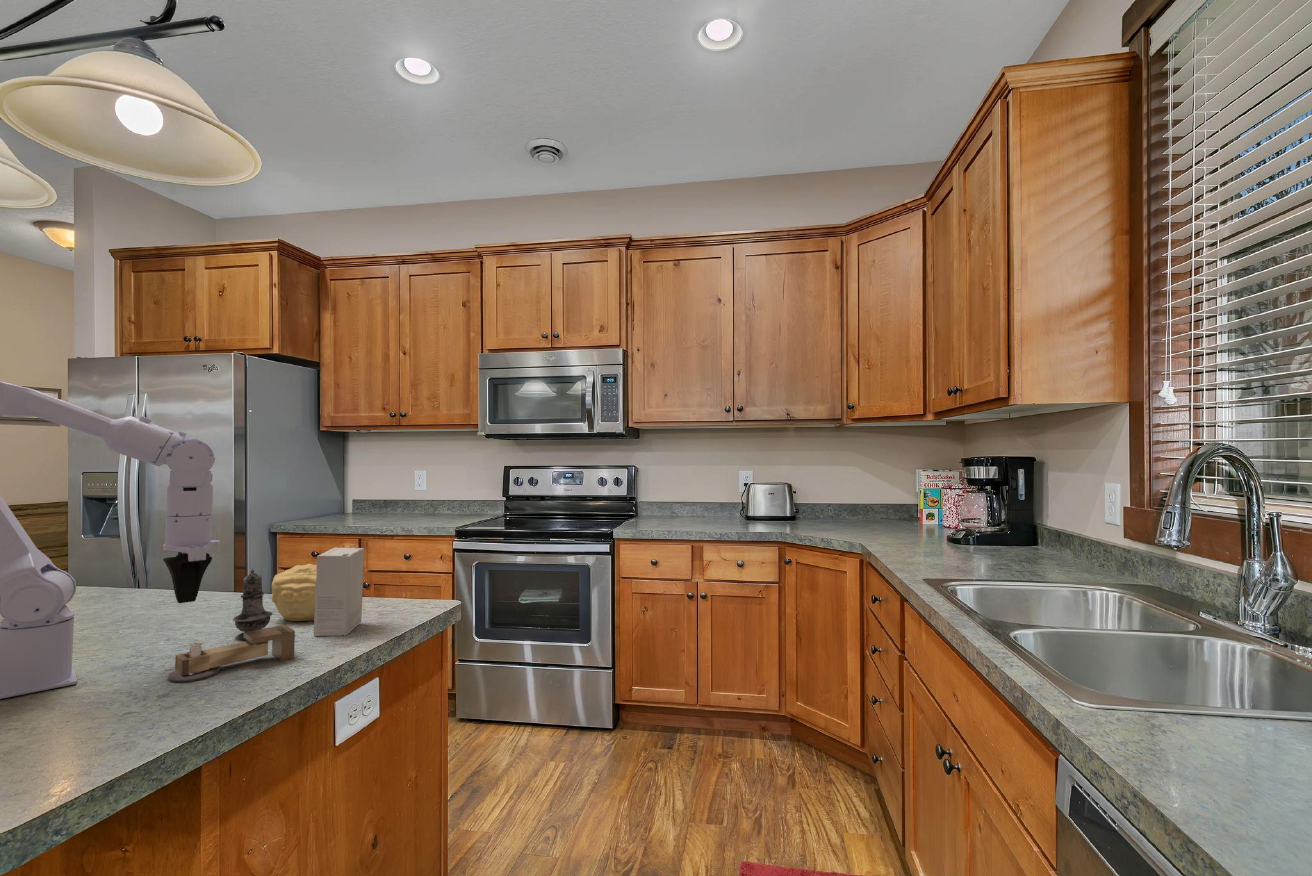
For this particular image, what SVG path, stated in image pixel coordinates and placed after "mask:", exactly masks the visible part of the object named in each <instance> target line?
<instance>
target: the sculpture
mask: <svg viewBox="0 0 1312 876" xmlns="http://www.w3.org/2000/svg"><path fill="white" fill-rule="evenodd" d="M316 575H317V564H312V563H307V564H304V565H302V564H301V565H300V564H296V565H295V566H293V567H291V568H289V569H286V570H285V571H284V570H283V572H280V573H277V574H275V575H274V577H273V580H272V583H271V601H272V603H273V604H274V605H275V607H276V609H277V611H278V613H279V614H280V616H281V617H282V618H284V619H285V620H287V621H289V622H290V621H291V622H309V621H310V622H311V621H314V615H315V592H316Z"/></svg>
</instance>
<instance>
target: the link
mask: <svg viewBox="0 0 1312 876" xmlns="http://www.w3.org/2000/svg"><path fill="white" fill-rule="evenodd" d="M268 655H269V641H265V642H260V643H255V644H251V643H250V642H249V641H248V640H247V641H240V642H238V643H237V642H236V643H231V644H227V645H221V646H217V647H212V648H209V649H203V650H202V649H201V656H196V657H192V658H189V652H184V653H183V652H182V653H178V654H175V658H174V660H175V661H174V662H175V663H174V671H175V670H176V671H178V672H179V673H180V674H181V675H187V674H191V673H196V672H200V671H204V670H209V668H213V667H218V666H220V667H222V666H226V665H231V664H235V663H238V662H239V663H240V662H243V661H244V662H245V661H247V660H252V659H256V658H262V657H266V656H268Z"/></svg>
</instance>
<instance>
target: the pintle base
mask: <svg viewBox="0 0 1312 876" xmlns="http://www.w3.org/2000/svg"><path fill="white" fill-rule="evenodd" d="M201 650H202V642H193V643H191V644H189V658H192V657H196V656H201ZM220 671H221V666H218V667H213V668H209V670H204V671H200V672H196V673H191V674H187V675H181V674H180V673H179V672H178V671H176V670H175V669H174V670H173V671H171V672H170V673H169V674H168V676H167V677H168V678H167V680H168V682H170V683H175V684H177V683H180V684H181V683H191V682H197V681H203V680H206V679H209V678H212V677H214V676H216V675H218V674H219V673H220Z"/></svg>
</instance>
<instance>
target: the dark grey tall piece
mask: <svg viewBox="0 0 1312 876" xmlns="http://www.w3.org/2000/svg"><path fill="white" fill-rule="evenodd" d="M249 572H250V574H248V575H246V576H245V577H244V578H243V579H242V580H243V581H242V594H241V595H240V598H241V599H242V608H241V613H240V614H239V615H236V616H234V617H233V618H232V621H233V622H234V625H235V626H236V629H237V630H238V631H240V632H241V633H238V635H236V636H235V638H234V640H235V641H240V642H246V641H248V640H246V639H245V638H244V632H247V631H253V630H258V629H264V628H267V626H268V625H269V623H270V621H271V616H272V615H273V612H272V611H267V610H265V608H264V607H265V606H264V604H263V603H264V602H263V600H264V599H263V596H264V595H265V592H263V578H262V576H261V574H259V573H258V574H257V573H255V570H254V569H253V568H252V569H251V570H250V571H249Z"/></svg>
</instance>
